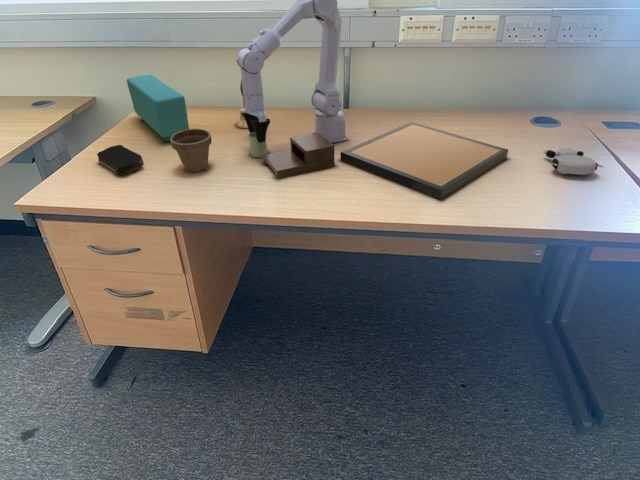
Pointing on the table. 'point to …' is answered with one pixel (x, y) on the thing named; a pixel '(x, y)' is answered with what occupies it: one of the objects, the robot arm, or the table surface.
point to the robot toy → (571, 162)
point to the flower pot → (192, 148)
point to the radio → (158, 105)
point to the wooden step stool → (307, 145)
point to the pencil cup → (257, 146)
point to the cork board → (425, 158)
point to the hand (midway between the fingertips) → (257, 137)
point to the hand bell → (242, 120)
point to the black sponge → (120, 159)
